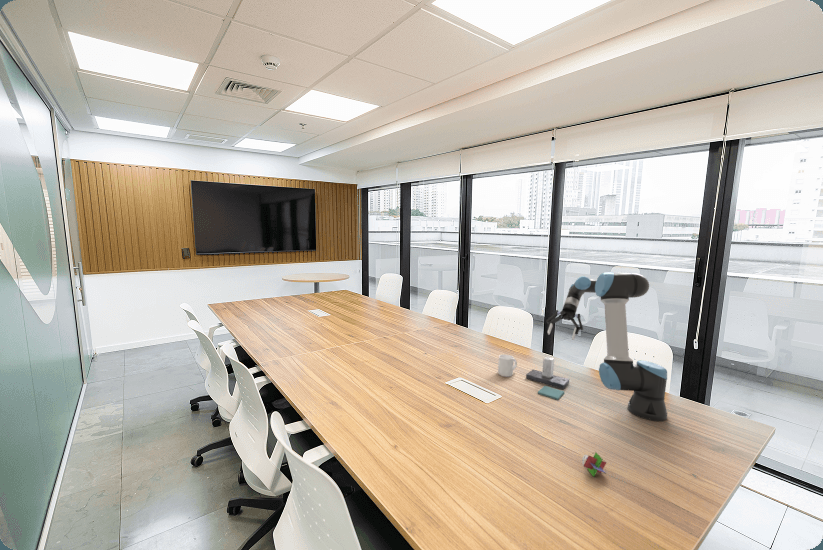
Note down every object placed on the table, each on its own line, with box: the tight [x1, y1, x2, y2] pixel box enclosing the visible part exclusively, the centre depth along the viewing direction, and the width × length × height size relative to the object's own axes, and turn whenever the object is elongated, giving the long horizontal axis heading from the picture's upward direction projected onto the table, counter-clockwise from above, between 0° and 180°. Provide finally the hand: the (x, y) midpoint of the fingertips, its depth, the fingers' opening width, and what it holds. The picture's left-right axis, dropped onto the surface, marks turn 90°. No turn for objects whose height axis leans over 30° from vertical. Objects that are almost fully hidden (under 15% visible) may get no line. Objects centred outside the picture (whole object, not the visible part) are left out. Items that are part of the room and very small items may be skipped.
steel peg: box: [541, 356, 555, 379], centre depth 193 cm, size 4×4×13 cm
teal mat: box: [537, 385, 565, 401], centre depth 178 cm, size 10×10×1 cm
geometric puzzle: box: [581, 451, 607, 478], centre depth 119 cm, size 7×7×8 cm
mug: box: [497, 354, 518, 378], centre depth 202 cm, size 12×8×10 cm
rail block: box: [525, 368, 570, 390], centre depth 193 cm, size 20×10×2 cm, turn 50°
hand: (560, 336), depth 202 cm, fingers open, 13 cm apart
